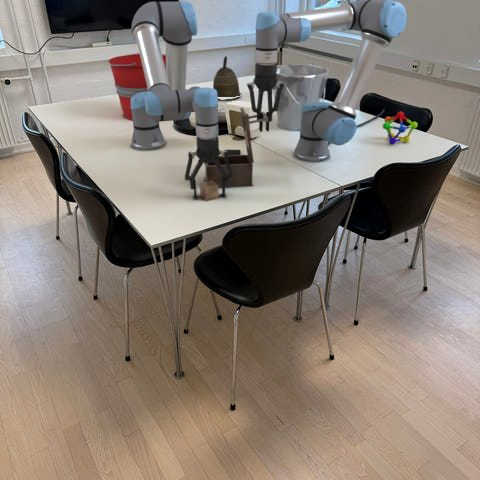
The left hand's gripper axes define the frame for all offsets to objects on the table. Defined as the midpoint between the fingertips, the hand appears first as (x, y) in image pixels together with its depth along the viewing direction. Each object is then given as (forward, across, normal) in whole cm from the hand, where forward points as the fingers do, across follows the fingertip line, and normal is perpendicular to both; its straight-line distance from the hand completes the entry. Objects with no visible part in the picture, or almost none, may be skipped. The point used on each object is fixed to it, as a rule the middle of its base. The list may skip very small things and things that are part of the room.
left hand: (209, 196), depth 161 cm
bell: (-1, +23, +140) cm, 142 cm away
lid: (-18, +15, +12) cm, 26 cm away
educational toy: (0, +93, +45) cm, 103 cm away
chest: (0, +8, +12) cm, 15 cm away
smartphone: (0, +13, +37) cm, 39 cm away
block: (0, 0, 0) cm, 0 cm away
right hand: (-20, +22, +12) cm, 32 cm away
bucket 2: (0, +52, +78) cm, 94 cm away
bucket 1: (-1, -27, +109) cm, 112 cm away
